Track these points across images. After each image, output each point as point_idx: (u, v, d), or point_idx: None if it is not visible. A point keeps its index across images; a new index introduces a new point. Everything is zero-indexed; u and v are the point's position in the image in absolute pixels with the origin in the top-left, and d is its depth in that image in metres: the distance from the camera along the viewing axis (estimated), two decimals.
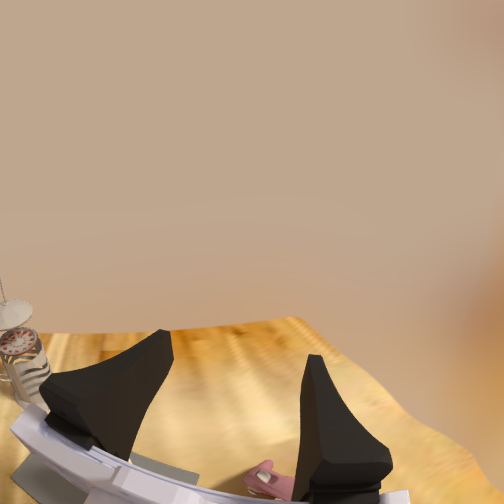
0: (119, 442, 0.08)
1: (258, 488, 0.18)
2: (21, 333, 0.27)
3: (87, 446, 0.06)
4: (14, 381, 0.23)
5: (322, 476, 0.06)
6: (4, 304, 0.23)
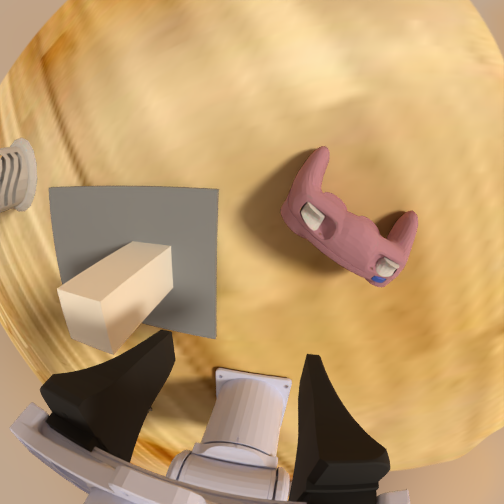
0: (121, 443, 0.08)
1: (305, 236, 0.17)
2: None
3: (89, 447, 0.06)
4: None
5: (319, 476, 0.06)
6: None
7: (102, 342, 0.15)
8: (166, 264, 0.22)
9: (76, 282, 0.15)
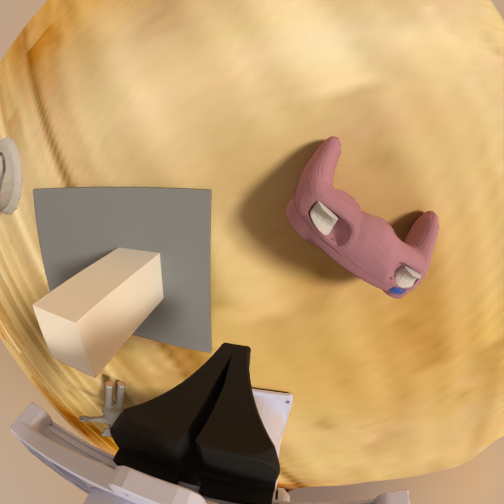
0: (197, 469, 0.08)
1: (315, 241, 0.14)
2: None
3: (175, 484, 0.06)
4: None
5: (203, 460, 0.06)
6: None
7: (82, 364, 0.12)
8: (155, 273, 0.20)
9: (53, 297, 0.13)
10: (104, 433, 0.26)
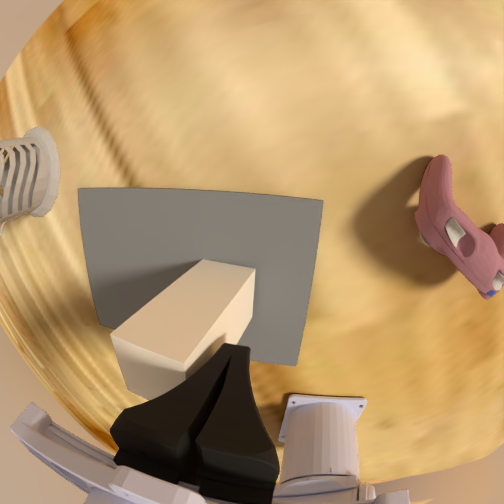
0: (197, 469, 0.08)
1: (442, 252, 0.13)
2: None
3: (175, 484, 0.06)
4: (5, 219, 0.18)
5: (203, 460, 0.06)
6: None
7: None
8: (250, 292, 0.19)
9: (138, 324, 0.12)
10: None
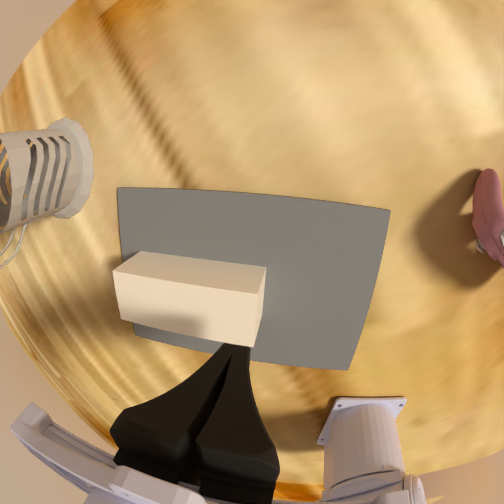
0: (197, 469, 0.08)
1: (495, 258, 0.12)
2: None
3: (175, 484, 0.06)
4: (28, 221, 0.17)
5: (203, 460, 0.06)
6: None
7: None
8: (239, 310, 0.16)
9: (149, 256, 0.20)
10: None
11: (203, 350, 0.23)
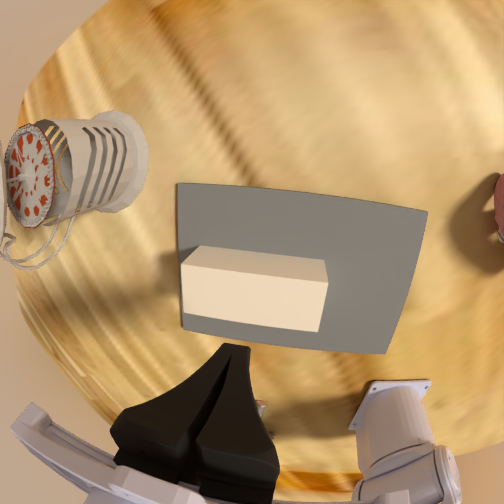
0: (197, 469, 0.08)
1: None
2: (18, 153, 0.13)
3: (175, 484, 0.06)
4: (77, 214, 0.18)
5: (203, 460, 0.06)
6: None
7: None
8: (309, 298, 0.18)
9: (212, 250, 0.21)
10: None
11: (254, 341, 0.25)
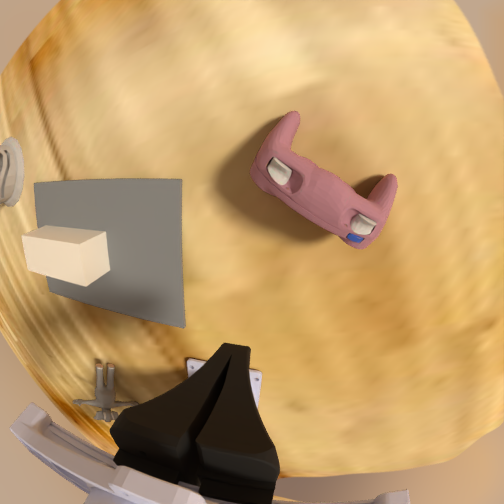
0: (197, 469, 0.08)
1: None
2: None
3: (175, 484, 0.06)
4: None
5: (203, 460, 0.06)
6: None
7: None
8: (73, 257, 0.20)
9: (47, 227, 0.24)
10: (96, 416, 0.28)
11: (85, 302, 0.27)
